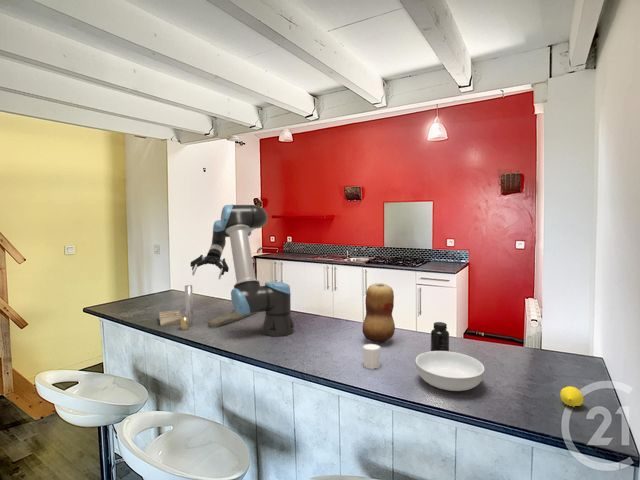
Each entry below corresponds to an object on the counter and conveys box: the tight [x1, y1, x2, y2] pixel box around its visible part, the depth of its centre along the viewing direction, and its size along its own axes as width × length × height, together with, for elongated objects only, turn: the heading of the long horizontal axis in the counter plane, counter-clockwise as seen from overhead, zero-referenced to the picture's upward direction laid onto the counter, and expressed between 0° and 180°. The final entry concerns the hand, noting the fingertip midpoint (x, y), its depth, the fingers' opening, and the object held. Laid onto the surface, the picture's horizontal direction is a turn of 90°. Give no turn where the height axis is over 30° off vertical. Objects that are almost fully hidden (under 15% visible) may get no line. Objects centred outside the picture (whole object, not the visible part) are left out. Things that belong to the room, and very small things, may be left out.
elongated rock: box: [207, 309, 255, 329], centre depth 193 cm, size 35×5×10 cm
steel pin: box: [184, 284, 194, 327], centre depth 181 cm, size 4×4×20 cm
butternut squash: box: [362, 282, 396, 344], centre depth 155 cm, size 14×13×25 cm
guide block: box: [158, 309, 183, 327], centre depth 190 cm, size 14×10×4 cm
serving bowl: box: [414, 350, 485, 392], centre depth 117 cm, size 21×21×7 cm
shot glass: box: [361, 343, 382, 370], centre depth 131 cm, size 7×7×7 cm
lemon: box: [559, 385, 585, 407], centre depth 102 cm, size 7×5×5 cm
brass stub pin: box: [180, 315, 190, 332], centre depth 175 cm, size 4×4×6 cm
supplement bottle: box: [430, 321, 450, 352], centre depth 141 cm, size 7×7×12 cm
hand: (206, 275), depth 191 cm, fingers open, 13 cm apart
